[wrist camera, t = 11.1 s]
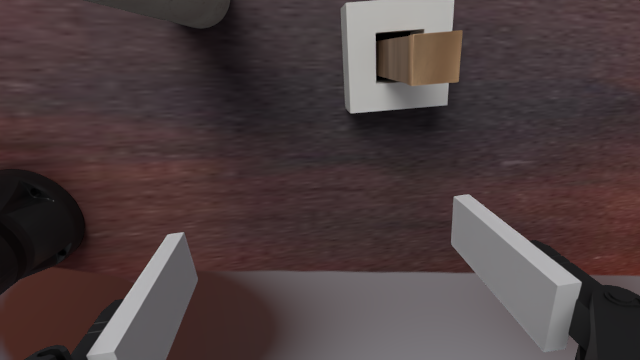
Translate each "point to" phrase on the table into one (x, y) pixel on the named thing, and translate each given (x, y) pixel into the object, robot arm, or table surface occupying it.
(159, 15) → the thermos bottle
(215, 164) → the table surface
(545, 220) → the table surface
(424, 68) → the bronze peg
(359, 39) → the socket block
